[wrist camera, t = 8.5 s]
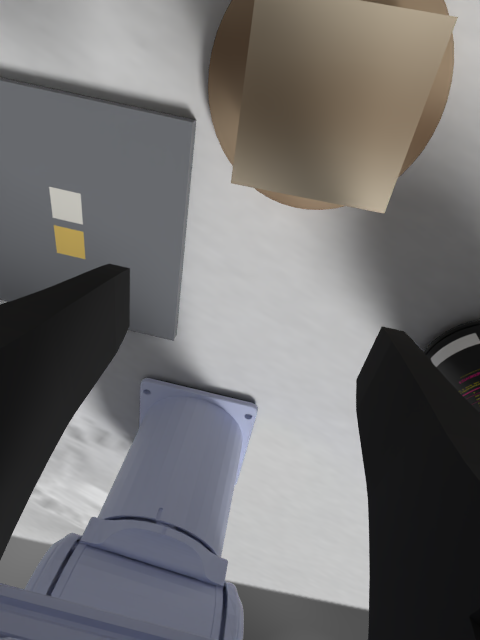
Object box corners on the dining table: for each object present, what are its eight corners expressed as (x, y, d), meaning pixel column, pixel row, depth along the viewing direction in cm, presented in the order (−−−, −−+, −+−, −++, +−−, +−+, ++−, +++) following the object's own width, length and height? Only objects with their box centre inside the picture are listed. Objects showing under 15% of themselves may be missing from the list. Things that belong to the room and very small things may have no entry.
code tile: (176, 334, 24) (173, 340, 24) (-11, 290, 24) (-18, 295, 24) (196, 120, 17) (192, 122, 16) (-68, 62, 17) (-79, 63, 17)
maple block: (364, 162, 16) (384, 213, 11) (256, 142, 16) (230, 183, 11) (407, 27, 13) (457, 16, 9) (278, 4, 14) (256, -18, 9)
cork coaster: (390, 222, 18) (393, 229, 17) (201, 180, 18) (196, 185, 18) (498, -37, 13) (508, -41, 12) (230, -90, 13) (225, -97, 12)
